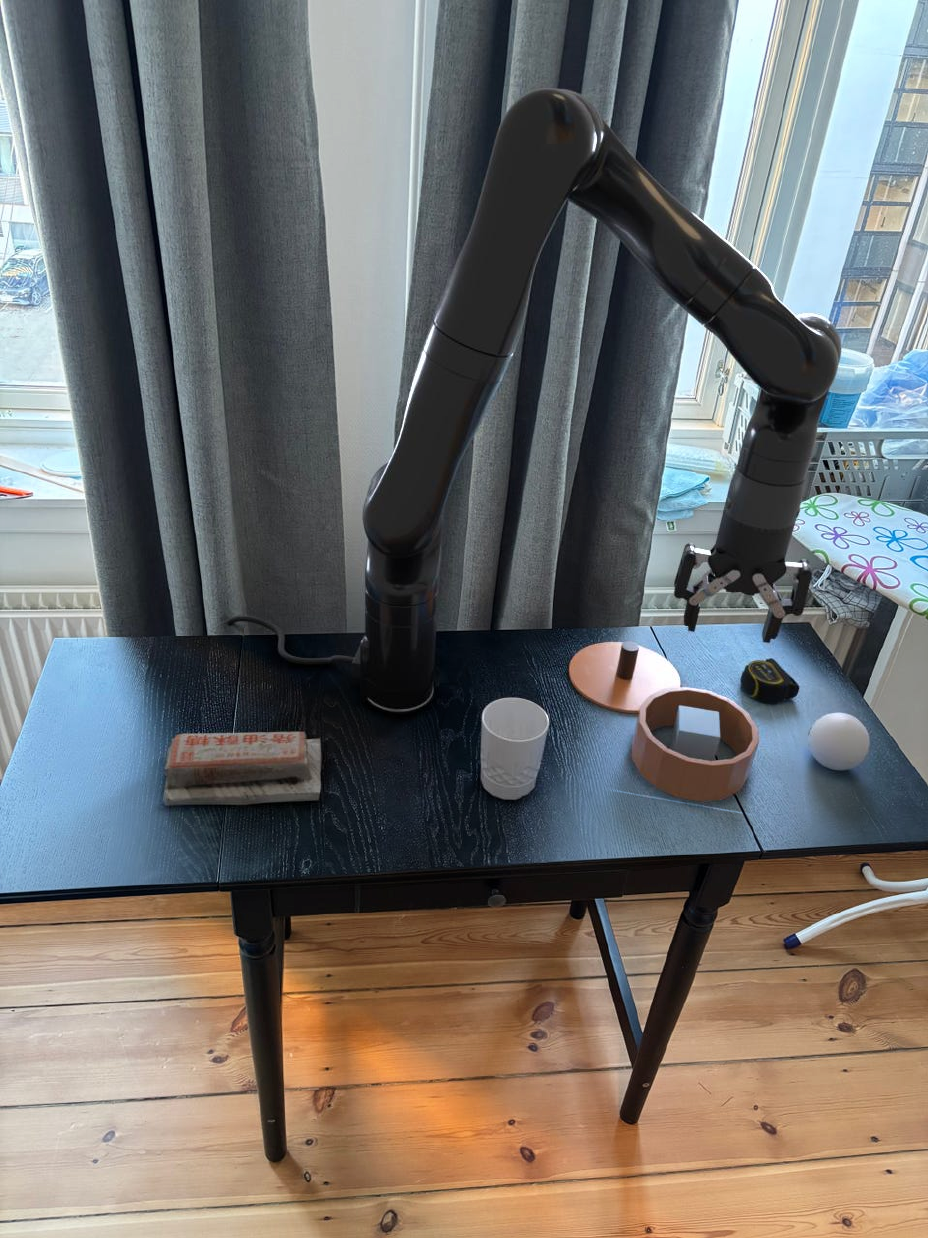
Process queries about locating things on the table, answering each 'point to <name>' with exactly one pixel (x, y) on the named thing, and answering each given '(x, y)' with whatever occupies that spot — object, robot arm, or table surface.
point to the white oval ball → (838, 741)
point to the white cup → (512, 746)
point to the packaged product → (242, 768)
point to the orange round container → (690, 773)
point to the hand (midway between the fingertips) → (727, 633)
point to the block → (696, 733)
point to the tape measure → (768, 682)
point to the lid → (621, 675)
